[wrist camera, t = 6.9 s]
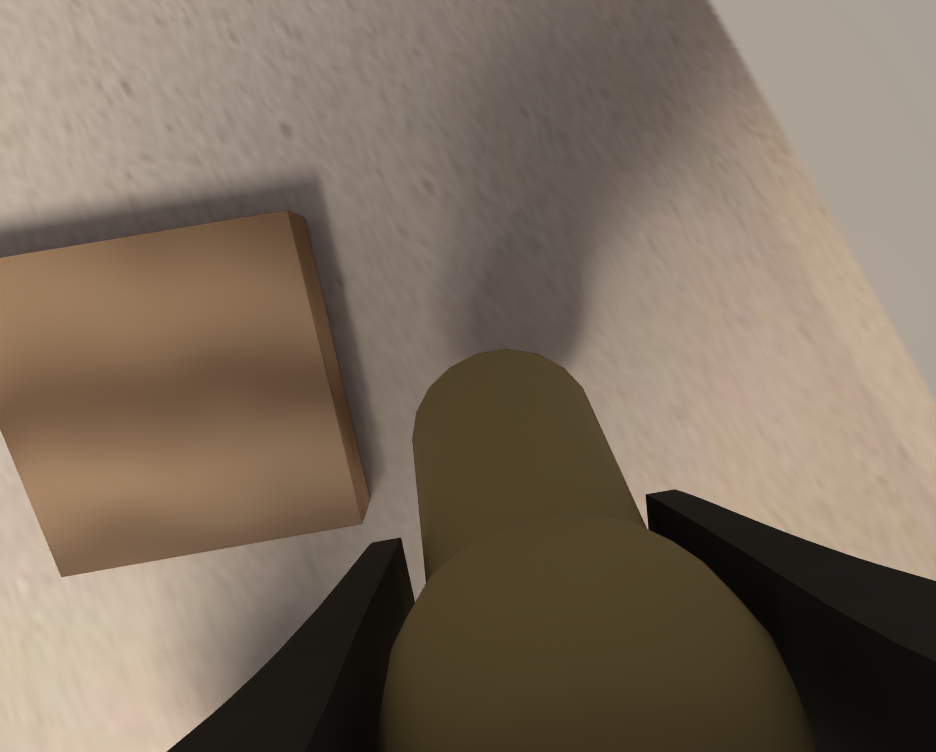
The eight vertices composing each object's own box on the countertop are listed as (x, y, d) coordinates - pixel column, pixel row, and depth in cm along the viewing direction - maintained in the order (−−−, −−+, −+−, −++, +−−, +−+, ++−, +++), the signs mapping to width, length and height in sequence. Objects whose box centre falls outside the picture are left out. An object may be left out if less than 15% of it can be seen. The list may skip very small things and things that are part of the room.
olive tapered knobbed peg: (445, 323, 14) (413, 548, 3) (625, 383, 15) (1090, 734, 4) (389, 493, 15) (240, 1035, 5) (556, 540, 16) (757, 1113, 5)
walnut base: (370, 499, 20) (362, 523, 18) (98, 547, 20) (61, 577, 18) (304, 217, 17) (286, 209, 15) (-9, 269, 17) (-67, 268, 15)
